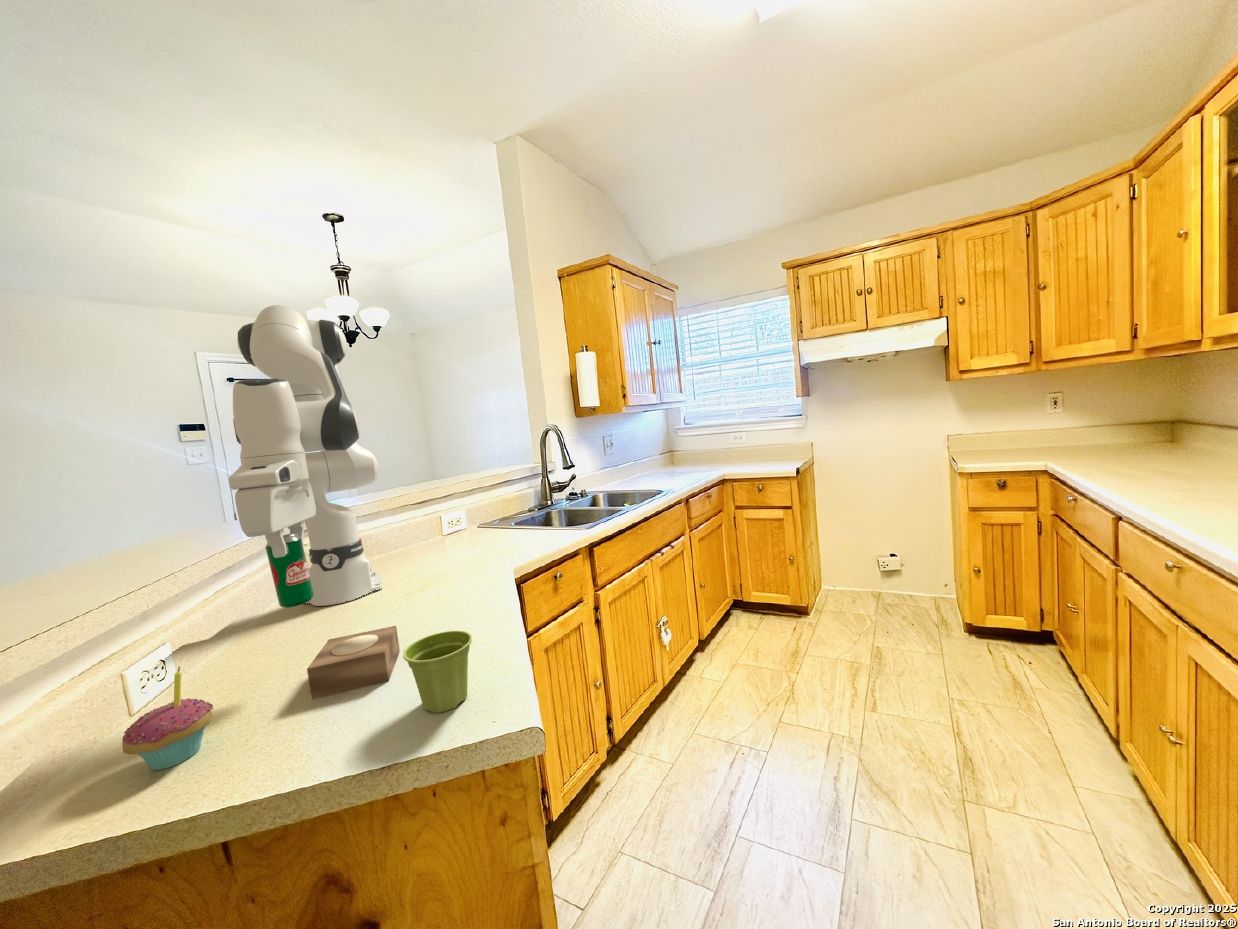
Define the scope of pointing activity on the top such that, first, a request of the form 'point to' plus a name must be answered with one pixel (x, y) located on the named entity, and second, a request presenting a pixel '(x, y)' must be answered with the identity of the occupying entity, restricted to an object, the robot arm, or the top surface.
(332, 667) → the plinth
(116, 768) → the top surface
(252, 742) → the top surface
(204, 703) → the cupcake
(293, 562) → the soda can
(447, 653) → the plant pot
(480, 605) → the top surface
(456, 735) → the top surface
